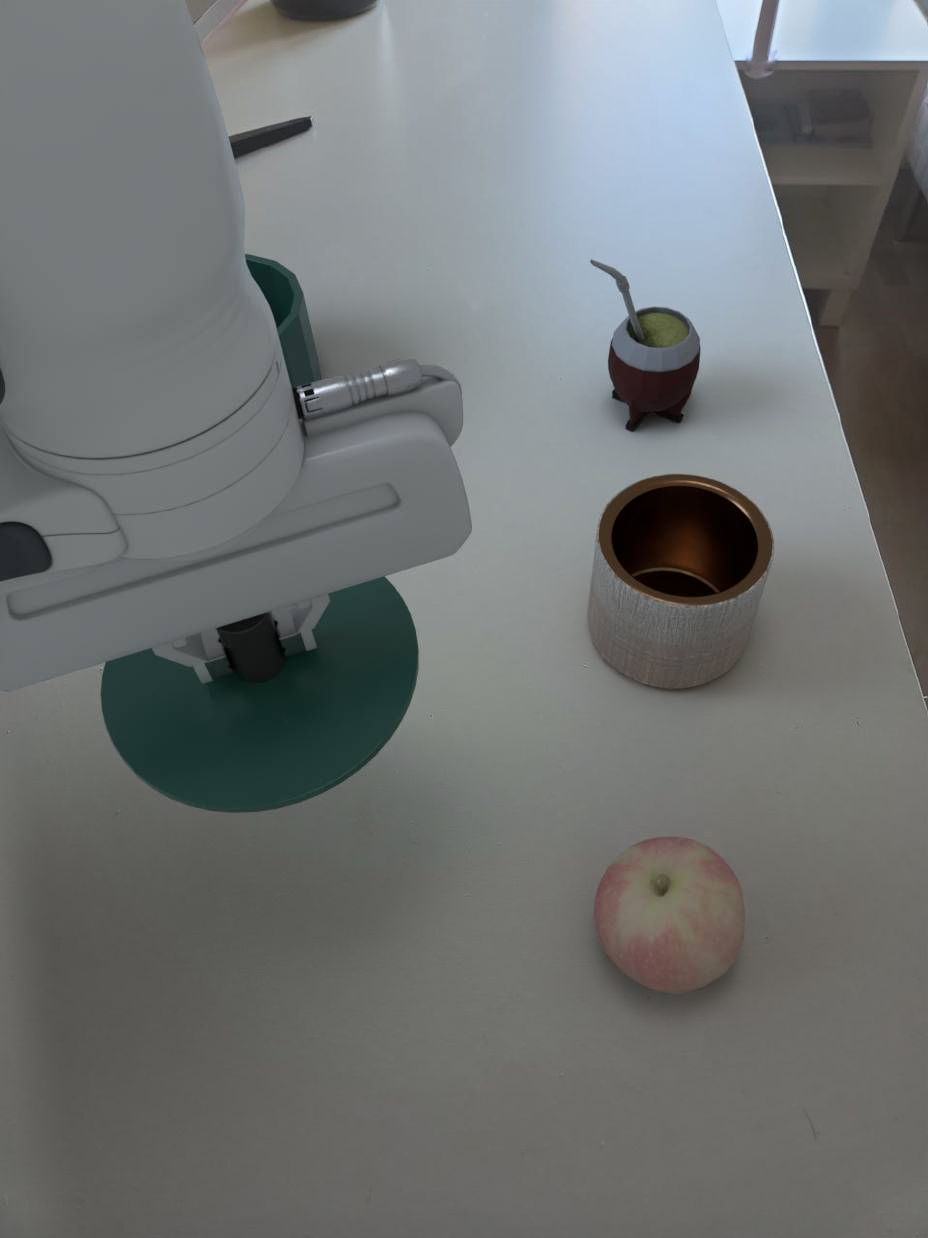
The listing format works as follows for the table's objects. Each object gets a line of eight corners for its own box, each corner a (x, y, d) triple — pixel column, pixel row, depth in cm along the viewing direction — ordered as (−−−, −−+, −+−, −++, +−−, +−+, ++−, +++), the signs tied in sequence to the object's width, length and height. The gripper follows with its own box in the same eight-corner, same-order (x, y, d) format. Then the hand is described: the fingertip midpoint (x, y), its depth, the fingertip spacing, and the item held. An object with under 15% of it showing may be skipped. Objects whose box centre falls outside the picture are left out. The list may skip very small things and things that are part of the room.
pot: (186, 483, 77) (153, 402, 70) (148, 343, 87) (116, 260, 80) (347, 436, 79) (330, 353, 72) (291, 304, 89) (272, 221, 82)
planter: (760, 691, 63) (793, 605, 55) (593, 696, 63) (603, 612, 56) (732, 561, 69) (758, 467, 61) (580, 567, 70) (587, 474, 62)
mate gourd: (704, 396, 79) (737, 232, 67) (661, 456, 76) (687, 293, 63) (624, 366, 82) (641, 203, 70) (578, 422, 78) (588, 260, 66)
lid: (133, 867, 39) (87, 816, 35) (90, 603, 47) (49, 536, 43) (463, 754, 42) (457, 693, 37) (370, 520, 50) (356, 449, 45)
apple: (678, 848, 57) (698, 790, 51) (760, 963, 53) (793, 916, 47) (564, 913, 55) (570, 861, 49) (640, 1037, 51) (657, 999, 45)
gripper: (430, 294, 35) (451, 537, 47) (-150, 446, 32) (24, 668, 43) (490, 404, 32) (498, 638, 43) (-154, 586, 29) (36, 788, 40)
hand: (256, 654), depth 43 cm, fingers closed on lid, 2 cm apart
